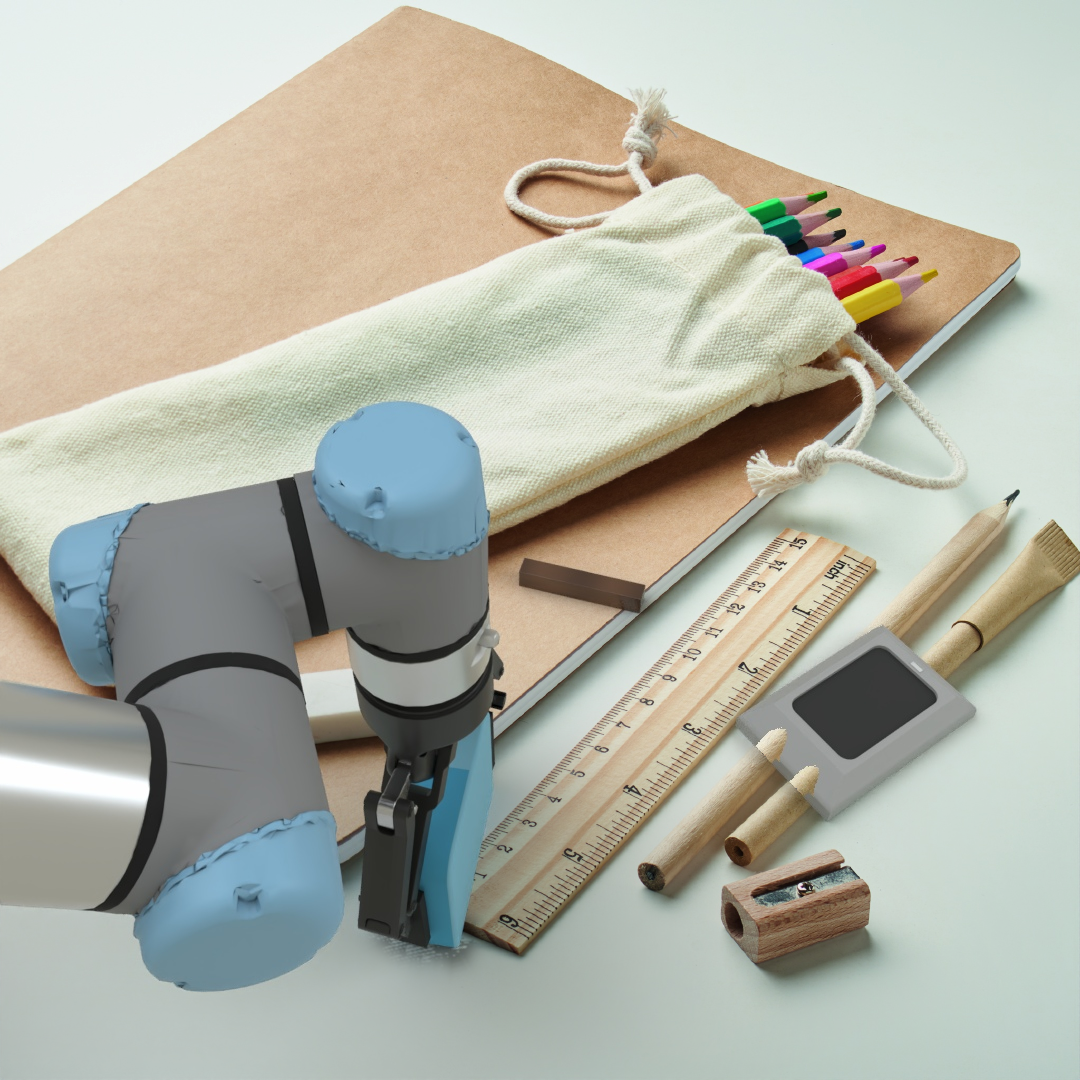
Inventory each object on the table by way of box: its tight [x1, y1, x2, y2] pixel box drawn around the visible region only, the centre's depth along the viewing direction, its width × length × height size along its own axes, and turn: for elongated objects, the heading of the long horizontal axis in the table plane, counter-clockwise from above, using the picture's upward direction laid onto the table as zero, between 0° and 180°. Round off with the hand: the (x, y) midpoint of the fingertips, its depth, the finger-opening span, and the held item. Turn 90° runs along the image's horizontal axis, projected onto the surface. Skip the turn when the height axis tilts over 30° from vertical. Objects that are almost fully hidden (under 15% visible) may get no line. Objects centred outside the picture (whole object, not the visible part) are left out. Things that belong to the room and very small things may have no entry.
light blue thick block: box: [411, 712, 494, 949], centre depth 78 cm, size 12×4×12 cm, turn 171°
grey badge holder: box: [734, 624, 978, 822], centre depth 89 cm, size 10×4×15 cm
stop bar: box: [518, 557, 646, 614], centre depth 97 cm, size 10×2×3 cm, turn 74°
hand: (443, 846), depth 80 cm, fingers closed on light blue thick block, 12 cm apart
